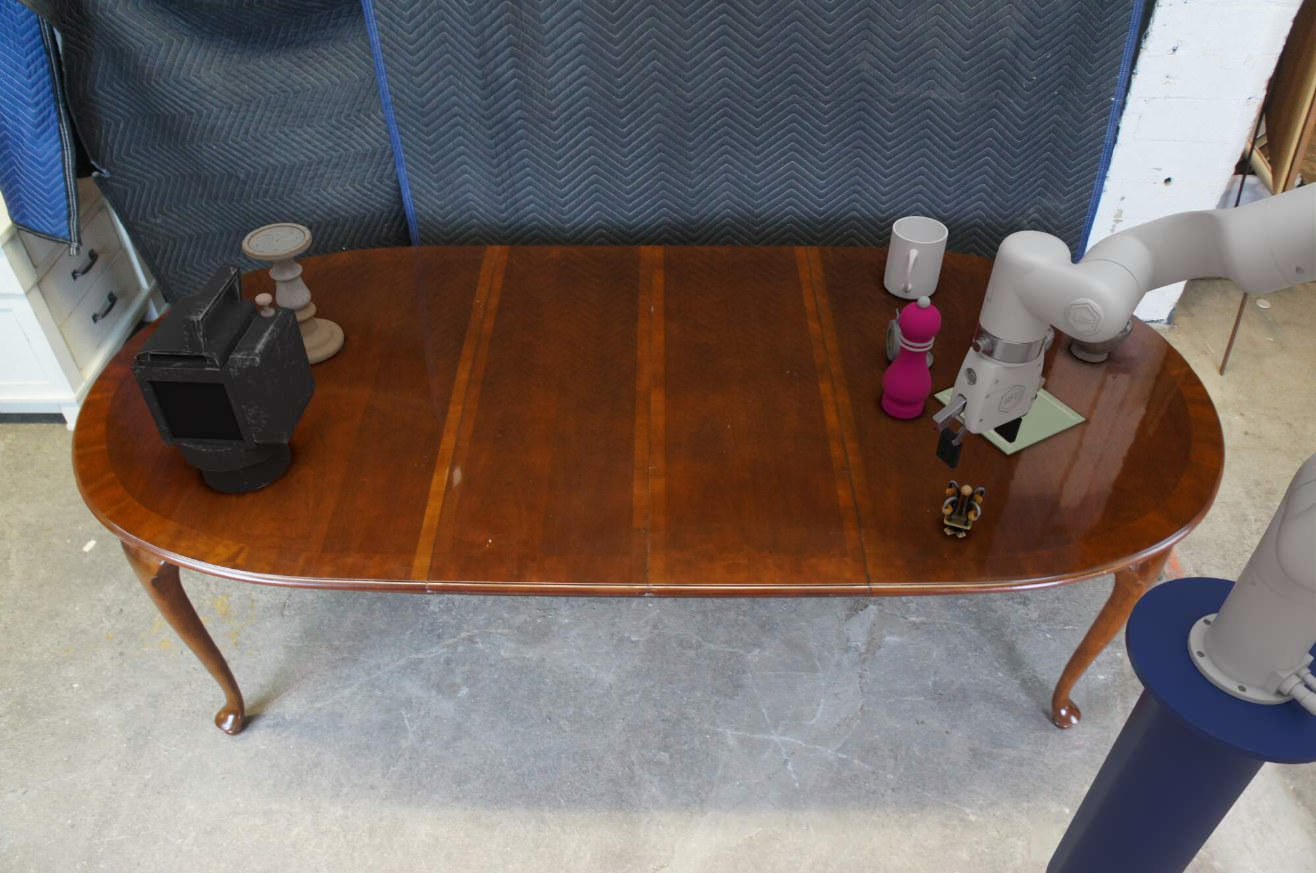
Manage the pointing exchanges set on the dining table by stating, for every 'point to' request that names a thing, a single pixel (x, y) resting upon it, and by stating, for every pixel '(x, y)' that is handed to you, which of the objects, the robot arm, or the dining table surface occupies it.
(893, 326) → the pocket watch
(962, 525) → the figurine
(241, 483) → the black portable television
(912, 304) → the pepper mill
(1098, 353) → the pottery
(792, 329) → the dining table surface
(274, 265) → the candle holder
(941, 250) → the mug
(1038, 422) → the napkin
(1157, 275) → the robot arm
